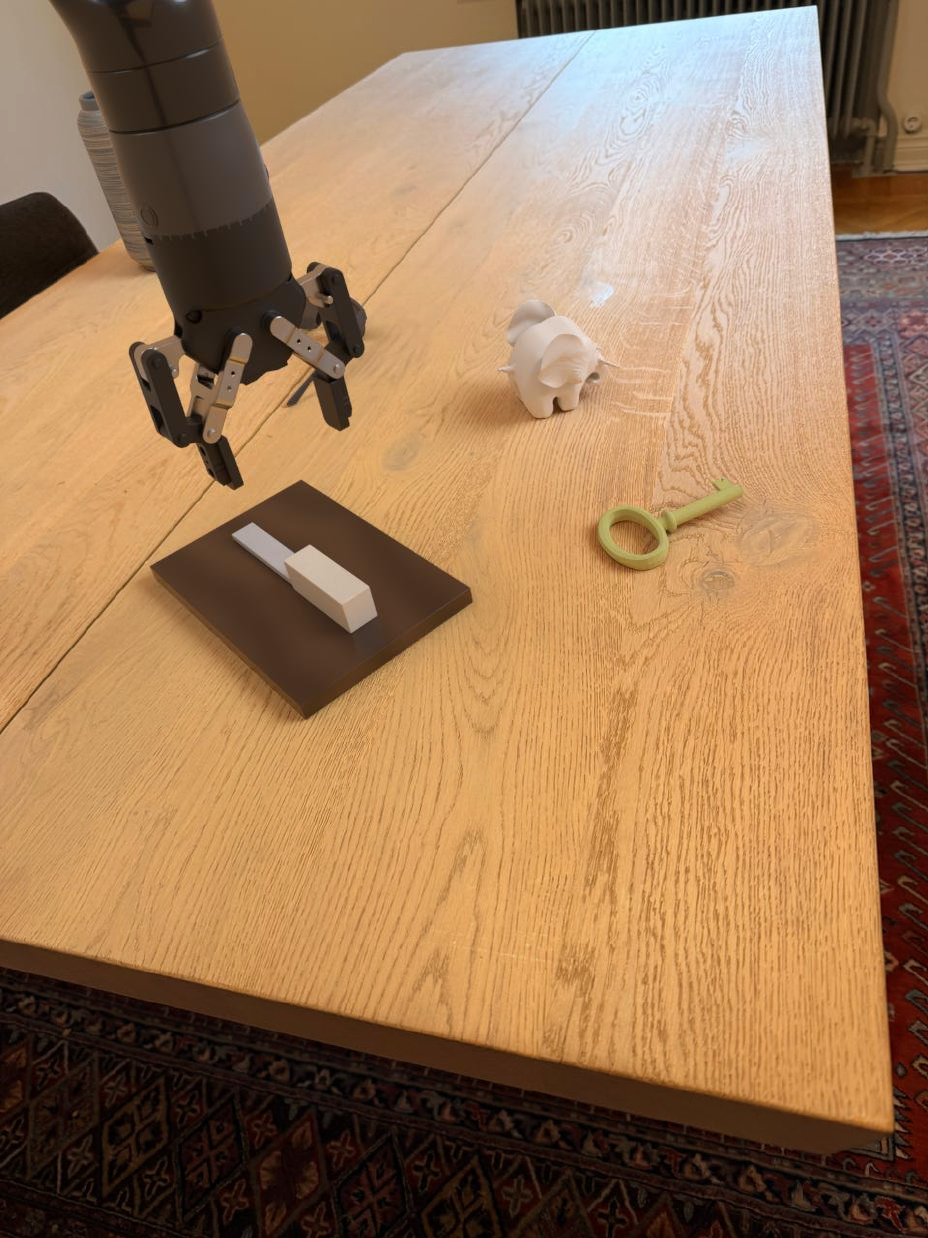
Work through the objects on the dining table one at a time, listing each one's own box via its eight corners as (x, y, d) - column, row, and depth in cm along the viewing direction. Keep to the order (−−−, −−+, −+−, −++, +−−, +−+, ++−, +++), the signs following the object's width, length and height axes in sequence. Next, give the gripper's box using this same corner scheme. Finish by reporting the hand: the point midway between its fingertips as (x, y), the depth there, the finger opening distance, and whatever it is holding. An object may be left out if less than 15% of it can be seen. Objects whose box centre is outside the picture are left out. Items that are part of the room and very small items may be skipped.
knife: (378, 615, 69) (369, 586, 67) (350, 634, 68) (341, 604, 66) (256, 526, 80) (245, 498, 78) (231, 540, 79) (220, 513, 77)
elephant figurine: (635, 403, 88) (633, 316, 82) (519, 437, 87) (509, 351, 81) (596, 362, 95) (591, 279, 89) (488, 393, 94) (476, 311, 88)
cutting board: (306, 720, 64) (300, 706, 63) (155, 579, 79) (149, 566, 78) (473, 601, 71) (470, 587, 70) (305, 492, 85) (301, 479, 84)
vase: (185, 275, 132) (121, 99, 116) (119, 276, 135) (49, 106, 120) (223, 242, 139) (168, 74, 124) (160, 244, 143) (99, 81, 128)
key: (748, 505, 74) (750, 483, 73) (642, 579, 70) (641, 558, 68) (681, 473, 79) (681, 452, 77) (577, 540, 74) (575, 520, 73)
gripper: (276, 153, 55) (340, 393, 66) (58, 236, 49) (167, 484, 60) (346, 169, 50) (403, 424, 61) (114, 263, 44) (222, 527, 55)
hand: (286, 454), depth 60 cm, fingers open, 8 cm apart
